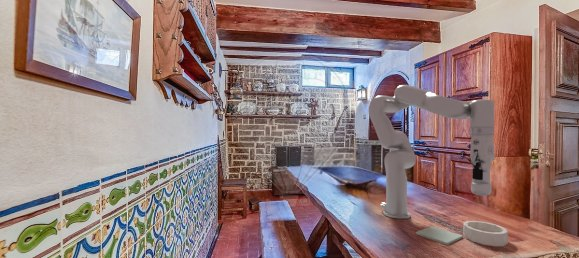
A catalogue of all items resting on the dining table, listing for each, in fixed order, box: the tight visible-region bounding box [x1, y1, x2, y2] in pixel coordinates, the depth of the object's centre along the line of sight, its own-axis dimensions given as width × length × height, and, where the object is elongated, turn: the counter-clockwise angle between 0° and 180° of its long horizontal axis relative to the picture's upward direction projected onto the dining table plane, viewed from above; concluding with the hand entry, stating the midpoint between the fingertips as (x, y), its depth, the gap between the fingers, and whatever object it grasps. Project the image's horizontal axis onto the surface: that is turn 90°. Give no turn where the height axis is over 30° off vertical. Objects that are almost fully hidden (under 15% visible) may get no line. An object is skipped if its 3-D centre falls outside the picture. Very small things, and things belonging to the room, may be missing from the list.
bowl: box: [462, 220, 509, 247], centre depth 102 cm, size 13×13×4 cm
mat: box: [415, 225, 464, 246], centre depth 105 cm, size 12×12×1 cm
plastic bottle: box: [470, 154, 493, 197], centre depth 102 cm, size 6×7×20 cm
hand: (481, 178), depth 102 cm, fingers closed on plastic bottle, 5 cm apart
